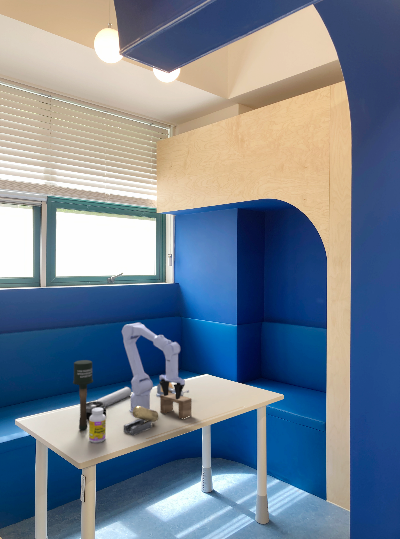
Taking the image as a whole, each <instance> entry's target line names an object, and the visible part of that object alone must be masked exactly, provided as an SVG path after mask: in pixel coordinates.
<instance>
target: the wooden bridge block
mask: <svg viewBox="0 0 400 539" xmlns="http://www.w3.org/2000/svg"><path fill="white" fill-rule="evenodd" d="M159 401H160V408H159V409H160V410H159V412H160V413H162V414H164V413H166V414H167V412H168V413H171V412H172V410H173V411H174V403H176V404H178V419H180V418H183V419H182V420H185V419H187V418H186V417H188V416H190V415H191V416H192V397H189V396H188V397H187V396H184V395H183V396H180V399H176V395H175V394H173V393H168V395H167V396H164V394H163V395H160V400H159ZM170 411H171V412H170ZM191 416H190V417H191ZM184 418H185V419H184ZM188 418H189V417H188Z"/></svg>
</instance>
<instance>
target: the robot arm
mask: <svg viewBox="0 0 400 539" xmlns="http://www.w3.org/2000/svg"><path fill="white" fill-rule="evenodd" d="M121 334H122V338H123V344H124V348H125V352H126V355H127V358H128V362H129V365H130V368H131V372H132V376H133V377H132V379H131V381H130V383H131V392H132V393H131V395H130V410H128V412H130V413H133V409H134V408H135V407H136V406H140V407H144V408H147V409H150V410H152V409H151V407H150V406H151V398H150V396H151V393H152V390H153V388H154V384H153V381H152V380H151V378H150V376H149V374H147V373H146V372H145V371H144V367H143V364H142V360H141V356H140V354H139V350H138V348H137V347H138V346H137V344H136V342H137V340H138V339H139V338H140V337H141V336H142V337H143V338H145V339H147V340H149V341H151V342H152V343H153V344H152V345H153V346H154V347H156V348H158V349H159V350H161V351H162V352H163V355H164V357H165V374H161V375H159V382H158V383H159V384H160V385H161V387H162V390H163V393H164V396H167V395H168V389H169V383H173V389H175V395H176V399H180V395H181V392H182V391H183V389H184V388H185V385H186V382H185V381H186V380H185V379H182V378H181V377H179V354H180V352H181V346H180V344H179V343H178V342H177V341H174V342H173V341H172V340H170V339H167V338H166V337H165V336H164V335H163V334H159V335H157V334H155V333H154V332H153V331H151V330H150V329H149V328H147V327H146V326H145V324H142V323H141V322H135V323H129V324H125V325H124V326H123V327H122V330H121ZM174 383H175V384H174Z"/></svg>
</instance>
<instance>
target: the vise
mask: <svg viewBox="0 0 400 539" xmlns="http://www.w3.org/2000/svg"><path fill="white" fill-rule="evenodd" d="M168 393H173V394H175V388H174V386H173V384H172V382H170V383H169V389H168ZM185 393H187V394H188V393H190V390H189V389H186V391H185V390H182V392H181V395H180V396H184V394H185ZM163 394H164V393H163V390H162V387H161V385H160V383H159V384H157V385H156V397H158V398H159V397H160V395H163Z"/></svg>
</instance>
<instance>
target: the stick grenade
mask: <svg viewBox="0 0 400 539" xmlns="http://www.w3.org/2000/svg"><path fill="white" fill-rule="evenodd" d="M92 383H94V379H93V361H91V360H88V359H85V360H84V359H82V360H76V361H75V362H73V381H72V384H73V385H78V386H79V387H78V388H79V390H78V392H79V393H78V394H79V414H80V415H79V423H78V424H79V425H78V429H79V431H82V432H83V431H87V430H88V428H89V425H88V420H87V417H86V403H87V397H88V385H90V384H92Z"/></svg>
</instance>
